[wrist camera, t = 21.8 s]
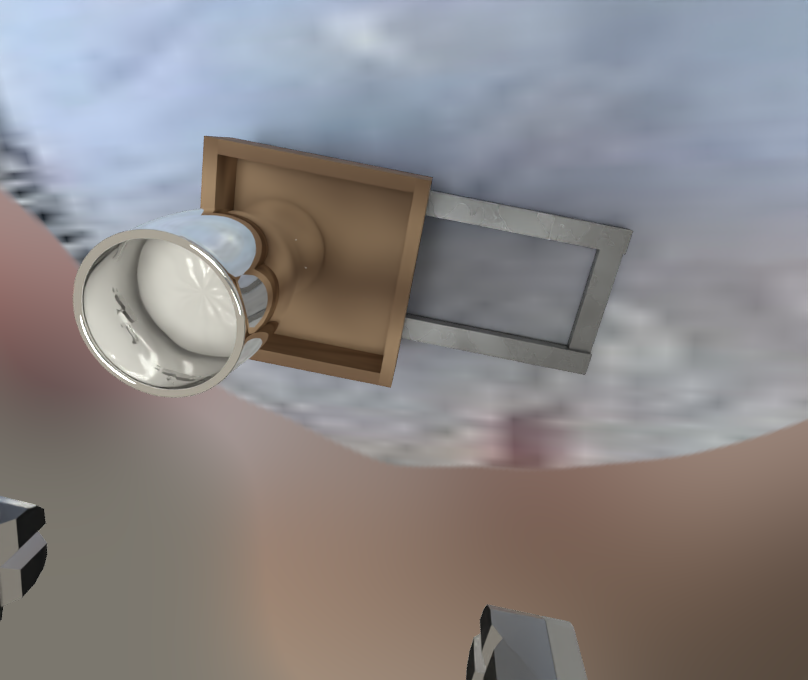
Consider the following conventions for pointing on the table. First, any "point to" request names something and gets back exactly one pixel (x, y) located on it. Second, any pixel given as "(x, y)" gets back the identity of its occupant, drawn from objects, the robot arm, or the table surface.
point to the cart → (332, 251)
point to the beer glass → (193, 293)
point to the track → (540, 225)
